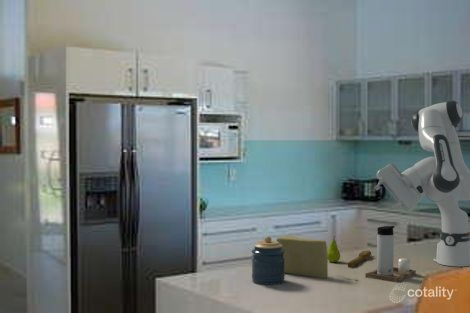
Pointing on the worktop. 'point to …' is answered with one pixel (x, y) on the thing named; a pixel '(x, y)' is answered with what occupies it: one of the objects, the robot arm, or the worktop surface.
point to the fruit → (333, 252)
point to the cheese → (304, 256)
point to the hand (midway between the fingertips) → (383, 197)
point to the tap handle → (359, 258)
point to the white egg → (403, 266)
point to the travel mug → (385, 251)
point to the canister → (268, 262)
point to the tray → (395, 277)
